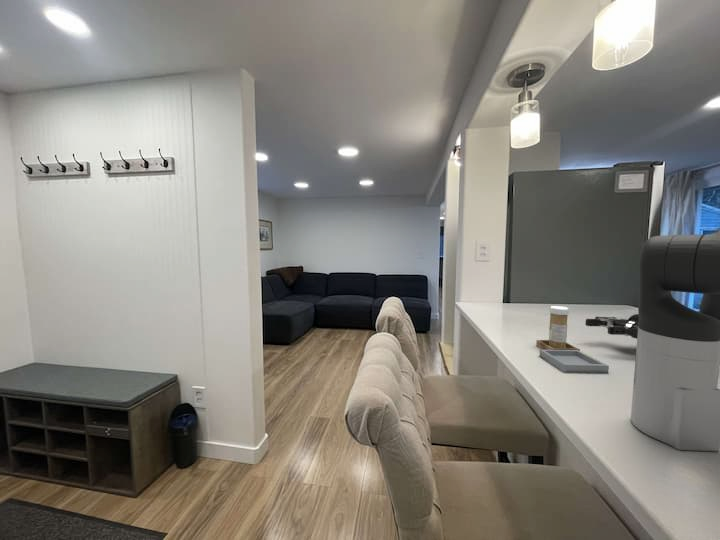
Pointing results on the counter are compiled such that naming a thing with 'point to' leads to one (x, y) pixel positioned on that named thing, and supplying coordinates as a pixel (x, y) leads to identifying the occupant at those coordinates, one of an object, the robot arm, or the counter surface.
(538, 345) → the wooden picture frame
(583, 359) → the slate tray
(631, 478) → the counter surface
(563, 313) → the sprinkles bottle
